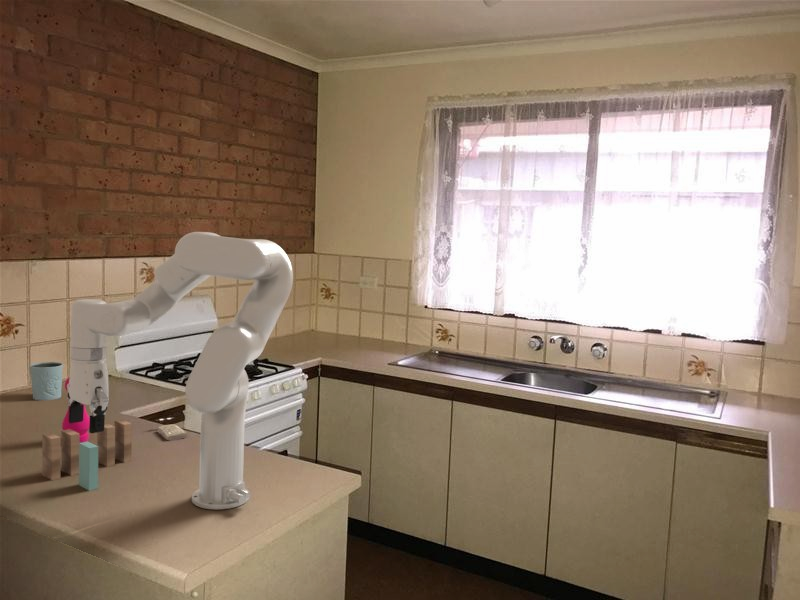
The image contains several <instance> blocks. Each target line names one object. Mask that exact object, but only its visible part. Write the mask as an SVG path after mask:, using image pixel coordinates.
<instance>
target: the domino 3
mask: <svg viewBox="0 0 800 600" xmlns="http://www.w3.org/2000/svg"><path fill="white" fill-rule="evenodd" d="M78 486H79V487H82V488H84V489H85V490H86V491H89V492H90V491H95V490H98V489H99V463H98V446H97V445H96V444H94V443H93V442H90V441H89V440H88V441H86V442H83V443H79V474H78Z"/></svg>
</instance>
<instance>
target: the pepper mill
mask: <svg viewBox="0 0 800 600" xmlns="http://www.w3.org/2000/svg"><path fill="white" fill-rule="evenodd" d="M67 384H69V377H68V378H66V380H65V382H64V389H65V390H66V392H67V393H66V399H67V400H68V401H69V398H68V396H67V395H68V390H67ZM80 405H81V404H80ZM83 405H84V404H83ZM64 415H65V416H64V417H63V421H62V426H61V428H62V431H63V430H68V429H70V430H73V431H75V432H77V433H79V443H83V442H87V441H88V442H89V439H90V432H89V422H90V415H89V414H88V412H87V409H86V405H84V413H83V421H82V422H76V423H69V405H68V408H67V411H66V413H65V414H64Z"/></svg>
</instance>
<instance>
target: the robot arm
mask: <svg viewBox="0 0 800 600" xmlns="http://www.w3.org/2000/svg"><path fill="white" fill-rule="evenodd" d="M153 272H154V275H153V276H154V278H155V279H154V281H152V283H151V284H150V285H149V286H147V287H146V288H145V289H144V290H143V291H141V292H140V293H139V294H138V295H136V296H135V297H133V298H132V299H128V300H122V301H117V302H111V303H110V302H109V303H108V302H106V301H105V300H101V299H95V298H94V299H93V298H82V299H75V301H73V303H72V305H71V309H70V310H71V315H70V316H71V317H70V318H71V319H70V346H69V347H70V348H69V361H70V369H69V377H68V378H69V384H67V390H68V391H67V390H66V391H67V393H68V395H67V394H66V397H67V396H68V398H69V401H68V402H67V404H68V406H69V423H76V422H82V421H83V413H84V405H85V407H88V408H89V410H90V413H91V415H89V418H90V422H89V430H88V433H89V434H96V433H97V432H102V431H104V423H105V422H106V421H105V415H106V414H107V410H108V404H109V402H110V399H109V371H108V363H107V349H108V348H107V347H108V337H114V338H116V337H117V338H118V337H122V336H125V335H126V336H127V335H129V334H132V333H137V332H140V331H143V330H145V329H147V328H148V327H150V326H151V325H153V324H154V323H155V322H157V321H159V319H161V318H162V317H163V316H165V315H166V314H167V313H169V312H170V311H171V310H172V309H173V308H174V307H175V306H176V304H178V303H179V302H180V300H181V299H182V298H183V297H184V296H186V295H187V294H188V293H190V292H191V291H192V290H194V289H195V288H196V287H197V286H199V285H200V284H201V283H203V282H204V281H206V280H207V279H208V278H210V277H218V278H219V277H220V278H224V279H226V278H227V279H233V280H241V281H253V280H254V281H253V284H252V286H251V287H250V289H249V290H248V292H247V293H246V295H245V296H244V299H243V300H242V303H241V305H240V307H239V309H238V311H237V313H236V315H235V316H234V318H233V320H231V321H230V322H229V323H225V324H223V325H221V326H220V327H218V328H216V329H215V330H214V331H213V332H212V334H211V335H210V336H209V337H208V339H207V340H206V343H204V344H205V345H204V346H203V348H202V350H201V352H200V354H199V356H198V359H197V361H196V362H195V364H194V367H193V368H192V370H191V373H190V374H189V376H188V379H187V381H186V385H185V397H186V402H187V403H188V405H189V406H190V408H191V409H192V410H194V411H195V412H197V413H200V414H201V416H200V417H201V419H200V434H199V435H200V437H199V438H200V440H199V481H198V482H199V483H198V484H199V485H198V486H199V487H198V489H197V490H195V491H193V493H192V494H191V502H192V504H193V505H195V506H197V507H199V508H201V509H204V510H205V509H206V510H215V511H217V510H228V509H229V510H230V509H234V508H237V507H240V506H242V505H244V504H246V503H247V502H248V501H249V499H250V497H251V494H252V493H251V492H250V491H249V490H248V489H247V488H246V482H245V481H244V454H245V453H244V451H245V449H244V448H245V426H246V425H245V422H246V421H245V420H246V409H247V403H248V402H247V401H248V396H249V395H248V394H249V383H250V382H249V376H248V374H247V371H246V370H245V368H246V366H247V365H248V364H251V363H252V362H253V361H255V360H256V359H258V357H260V356H261V354H262V353H263V351H264V349H265V347H266V346H267V345H266V344H267V342H268V340H269V339H270V336H271V334H272V332H273V330H274V329H275V327H276V325H277V322H278V320H279V317H280V316H281V314H282V311H283V310H284V307H285V305H286V303H287V301H288V299H289V297H290V294H291V291H292V288H293V283H294V269H293V266H292V263H291V261H290V258H289V256H288V254H287V253H286V252H285V250H284V249H283V248H282V247H281V246H280V245H278V244H277V243H276V242H274V241H271V240H270V239H269V240H268V239H262V238H261V239H260V238H259V239H258V238H257V239H252V238H250V239H249V238H237V237H231V236H229V237H228V236H222V235H219V234H218V233H215V232H210V231H193V232H189V233H187V234H184V235H183V236H182V237H181V238H180V239H179V240H178V242H177V243H176V245H175V248H174V254H172V255H171V256H170V257H169V258H167V259H166V260H164V261H163V262H161V263H160V264H159V265H158V266H156V267H155V269H154V271H153ZM80 404H81V405H80ZM83 404H84V405H83ZM95 407H96V408H95Z"/></svg>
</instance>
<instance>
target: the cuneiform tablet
mask: <svg viewBox="0 0 800 600" xmlns="http://www.w3.org/2000/svg"><path fill="white" fill-rule="evenodd" d="M173 419H176V417H173V416H172V417H167V418H166V417H165V418H159V419H154V420H155V422H160V421H165V420H166V421H167V420H173ZM157 432H158V434H159V435H160V436H161V437H162V438H164V440H166V441H170V442H171V441H177V440H182V439H184V438H187V436H188V434H187V432H186V430H184V429H183V428H181V427H180V426H179V425H177V424H176V423H175V424H165V425H160V426H157Z"/></svg>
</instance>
